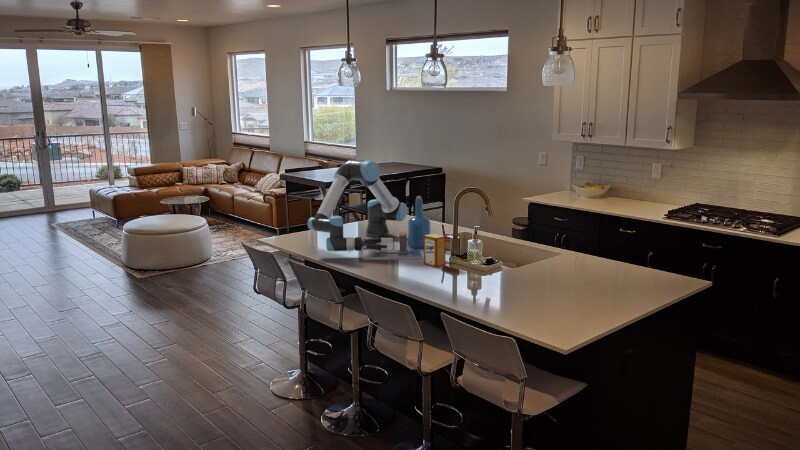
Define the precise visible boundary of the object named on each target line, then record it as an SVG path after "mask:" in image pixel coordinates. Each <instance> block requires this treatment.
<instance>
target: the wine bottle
mask: <svg viewBox="0 0 800 450" xmlns="http://www.w3.org/2000/svg"><path fill="white" fill-rule="evenodd" d="M423 204H424V203H423V198H422V196H421V195H418V196H416V198H415V213H414V214H415V215H414V216H412V217H411V218H410V219H409V220H408V222H407V244H408V245H407V246H409V247H410V248H412V249H420V250H421V249H424V235H428V234H432V232H431V230H432V227H431V225H432V223H431V220H430V219H429V218H428V217H426V216H424V210H423V209H424V207H423Z"/></svg>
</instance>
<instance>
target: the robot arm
mask: <svg viewBox="0 0 800 450" xmlns="http://www.w3.org/2000/svg"><path fill="white" fill-rule="evenodd" d="M333 175H334V176H333V181H332V183H331V185H330V187H329V189H328V191H327V193H326V195H325V196H324V199H323V200H322V202H321V204H320V207H319V208H318V210H317V212H316V214H315V215H314V216H313V217H309V218H308V220H307V228H308V229H309V230H310V231H313V232H321V233H322V232H323V233H329V237H327V238H326V242H325V244H326V245H325V247H326V251H327V252H348V253H351V252H353V251H355V252H358V251H359V252H361V251H362V250H363V249H364V250H379V251H381V250H394V243H393V241H394V239H393V237H387V236H390V230H389V227H388V224H387V221H393V222H396V223H397V222H403V221H404V220H405V219H406V216H407V214H408V206H407V204H406V203H404V202H400V201H399V200H398V198H397V197H395V196H393V195H392V194H391V192H390V191H389V189H388V188H387V187H386V185H385V184H384V183H383V181H382V180H381V178H380V176H381V170H380V166H379V164H378V163H377V162H375V161H373V160H368V159H367V160H363V159H361V160H360V159H349V160H347V161H345V162H343V163H342V165H340V167H339V168H338V169H337V170H336V172H335V173H334V174H333ZM351 181H360V183H361V184H362V185H363V186H364V187H367V188H368V189H369V190H370V192H371V193H372V194H373V195H374V197H375V198H376V199H371V200H369V201H367V226H366V229H365V236H366V237H370V238H363V240H362V237H361V236H360V237H359V236H357V237H354V236H352V237H351V236H348V237H344V221H343V220H344V219H343V217H342V216H340V215H332V213H333V211H335V210H334V209H335V208H336V205H337V203H338V201H339V200H340V198H341V196H342V194H343V192H344V190H345V188H346V186H347V185H349V184H350V182H351Z"/></svg>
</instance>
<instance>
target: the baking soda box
mask: <svg viewBox="0 0 800 450" xmlns="http://www.w3.org/2000/svg"><path fill="white" fill-rule="evenodd" d="M423 265H424V266H429V267H433V268H441V267H445V266H446V236H445V235H442V234H441V235H440V234H436V233H431V234H428V235H424V248H423Z"/></svg>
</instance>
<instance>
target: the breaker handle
mask: <svg viewBox="0 0 800 450" xmlns="http://www.w3.org/2000/svg"><path fill="white" fill-rule="evenodd" d="M398 238H399V239H398V241H399V242H398V243H399V244H398V246H399V249H397V250H398V253H409V251H408V245H407V244H408V231H399V232H398Z"/></svg>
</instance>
